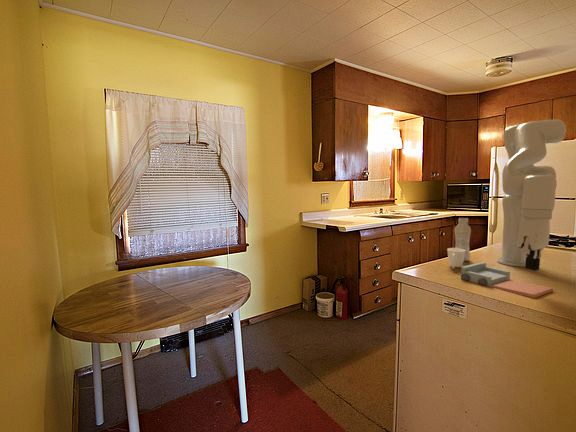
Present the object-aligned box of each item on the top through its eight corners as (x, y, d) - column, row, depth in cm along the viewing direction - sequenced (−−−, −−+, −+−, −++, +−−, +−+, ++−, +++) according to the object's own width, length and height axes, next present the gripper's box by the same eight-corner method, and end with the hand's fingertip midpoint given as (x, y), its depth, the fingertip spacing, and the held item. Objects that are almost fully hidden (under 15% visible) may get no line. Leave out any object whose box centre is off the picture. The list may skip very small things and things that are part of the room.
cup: (466, 267, 127) (467, 249, 127) (461, 273, 120) (462, 253, 119) (448, 265, 132) (449, 247, 131) (442, 270, 124) (443, 251, 124)
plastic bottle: (470, 263, 133) (472, 219, 131) (452, 262, 137) (454, 218, 135) (470, 260, 138) (472, 217, 136) (453, 258, 142) (455, 217, 140)
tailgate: (511, 282, 108) (511, 279, 108) (552, 290, 97) (553, 287, 97) (492, 288, 102) (492, 285, 102) (534, 297, 92) (534, 294, 92)
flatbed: (482, 274, 118) (483, 261, 118) (513, 281, 109) (513, 268, 108) (459, 280, 111) (460, 267, 111) (489, 288, 102) (490, 274, 101)
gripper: (534, 210, 102) (530, 262, 104) (510, 215, 95) (506, 270, 97) (562, 212, 95) (557, 268, 98) (538, 217, 88) (534, 277, 91)
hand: (532, 269), depth 97 cm, fingers closed
